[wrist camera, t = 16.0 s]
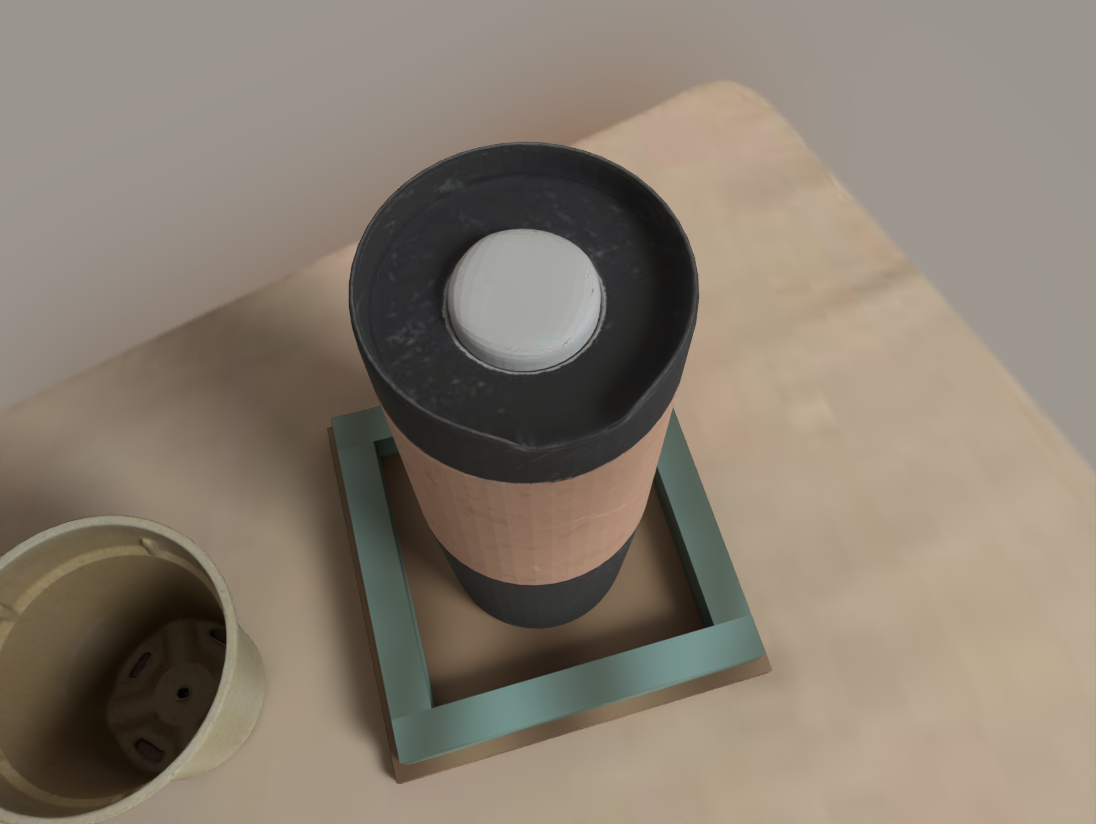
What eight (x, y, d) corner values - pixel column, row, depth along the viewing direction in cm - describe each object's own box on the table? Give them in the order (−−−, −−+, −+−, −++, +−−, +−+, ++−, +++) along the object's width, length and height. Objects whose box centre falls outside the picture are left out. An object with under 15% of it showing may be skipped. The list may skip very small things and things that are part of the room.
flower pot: (32, 815, 33) (-128, 815, 25) (103, 569, 37) (-17, 504, 29) (279, 836, 33) (195, 843, 25) (325, 586, 37) (264, 525, 29)
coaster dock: (399, 783, 34) (388, 781, 31) (331, 435, 40) (317, 411, 37) (767, 673, 35) (783, 662, 33) (648, 354, 41) (654, 326, 39)
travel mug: (503, 429, 39) (460, 89, 21) (660, 508, 37) (763, 216, 19) (410, 580, 36) (266, 341, 18) (576, 672, 35) (603, 514, 16)
